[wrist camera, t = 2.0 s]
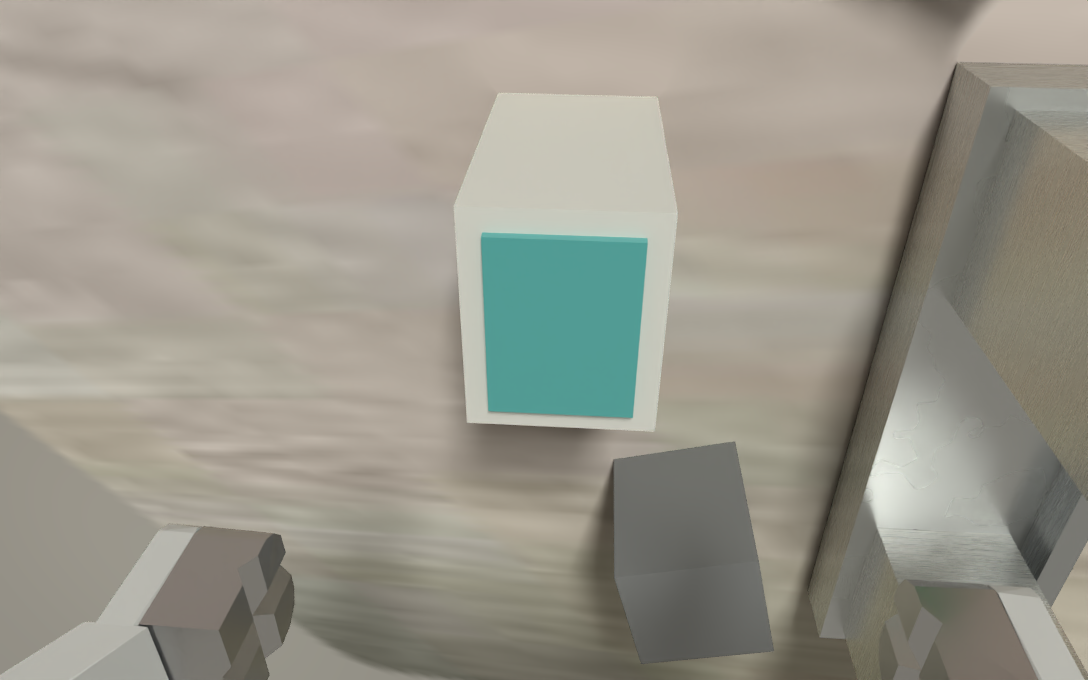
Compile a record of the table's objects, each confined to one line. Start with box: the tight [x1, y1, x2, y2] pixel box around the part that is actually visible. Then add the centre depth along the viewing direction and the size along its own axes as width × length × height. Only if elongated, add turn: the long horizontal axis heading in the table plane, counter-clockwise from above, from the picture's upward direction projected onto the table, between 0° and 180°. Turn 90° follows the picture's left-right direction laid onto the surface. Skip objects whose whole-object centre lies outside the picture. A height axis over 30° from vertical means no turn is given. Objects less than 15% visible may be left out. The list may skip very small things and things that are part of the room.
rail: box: [808, 63, 1088, 680], centre depth 20 cm, size 6×19×9 cm, turn 0°
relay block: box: [614, 442, 774, 664], centre depth 25 cm, size 4×4×5 cm
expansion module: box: [454, 93, 678, 432], centre depth 18 cm, size 4×5×7 cm
